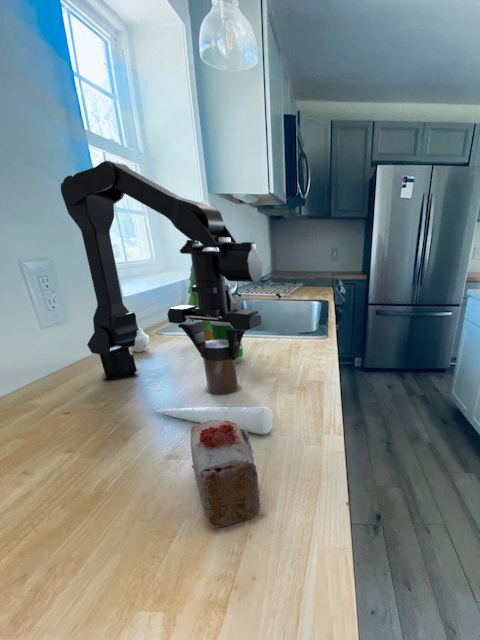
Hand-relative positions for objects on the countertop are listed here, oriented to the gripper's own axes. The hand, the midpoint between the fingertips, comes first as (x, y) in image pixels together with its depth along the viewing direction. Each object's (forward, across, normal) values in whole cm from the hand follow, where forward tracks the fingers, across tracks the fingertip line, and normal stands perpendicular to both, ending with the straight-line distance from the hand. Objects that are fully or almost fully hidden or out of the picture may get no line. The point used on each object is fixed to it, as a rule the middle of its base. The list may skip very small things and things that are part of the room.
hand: (219, 357), depth 79 cm
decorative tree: (+7, +25, -32) cm, 41 cm away
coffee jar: (+7, 0, 0) cm, 7 cm away
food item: (+7, -21, +33) cm, 40 cm away
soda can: (+7, +9, -19) cm, 22 cm away
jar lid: (-3, 0, 0) cm, 3 cm away
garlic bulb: (+7, +39, -19) cm, 44 cm away
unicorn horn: (+7, -8, +16) cm, 20 cm away
